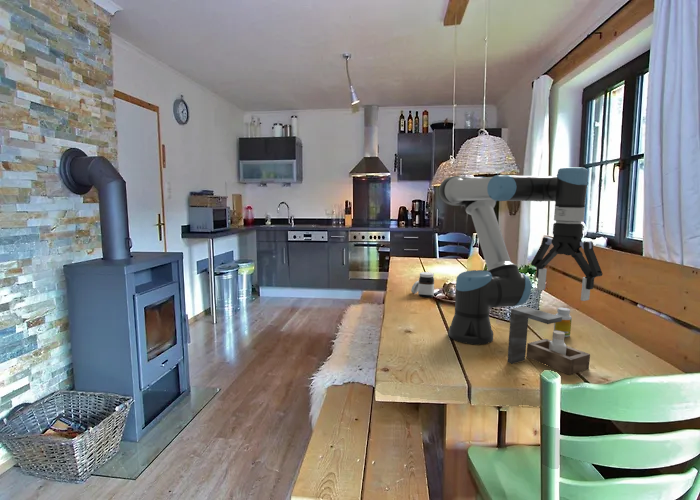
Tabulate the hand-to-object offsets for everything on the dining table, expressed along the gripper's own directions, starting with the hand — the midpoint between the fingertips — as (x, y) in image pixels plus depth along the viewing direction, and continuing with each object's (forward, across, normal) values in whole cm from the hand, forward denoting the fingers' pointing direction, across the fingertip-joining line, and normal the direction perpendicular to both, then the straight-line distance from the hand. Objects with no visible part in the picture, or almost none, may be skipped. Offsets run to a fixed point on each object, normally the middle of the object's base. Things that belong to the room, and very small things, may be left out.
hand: (561, 294), depth 115 cm
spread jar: (+22, -84, +16) cm, 88 cm away
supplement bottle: (+21, -15, +25) cm, 36 cm away
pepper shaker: (+21, 0, 0) cm, 21 cm away
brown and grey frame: (+21, 0, -4) cm, 21 cm away
